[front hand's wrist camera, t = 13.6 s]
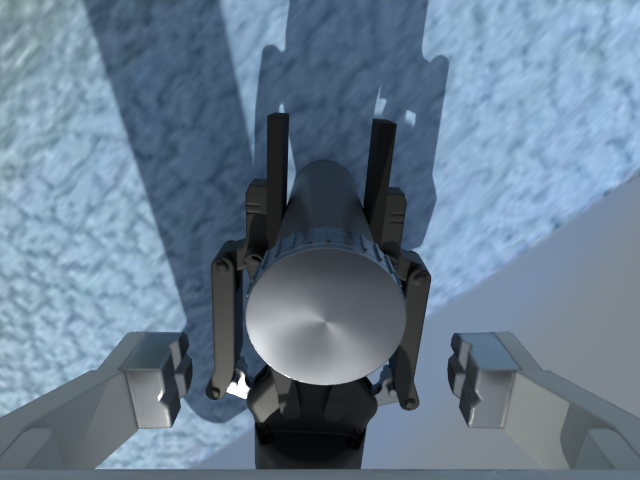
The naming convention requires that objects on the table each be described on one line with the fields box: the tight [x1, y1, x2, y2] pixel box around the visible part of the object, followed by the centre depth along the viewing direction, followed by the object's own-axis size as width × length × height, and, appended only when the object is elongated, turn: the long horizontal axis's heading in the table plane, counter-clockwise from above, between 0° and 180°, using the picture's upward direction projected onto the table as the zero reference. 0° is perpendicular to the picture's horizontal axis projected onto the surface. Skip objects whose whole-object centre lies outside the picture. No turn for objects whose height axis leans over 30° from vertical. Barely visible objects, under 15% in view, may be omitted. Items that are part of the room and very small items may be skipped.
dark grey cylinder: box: [275, 160, 374, 245], centre depth 19 cm, size 4×4×16 cm
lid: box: [245, 226, 406, 385], centre depth 12 cm, size 5×5×2 cm
